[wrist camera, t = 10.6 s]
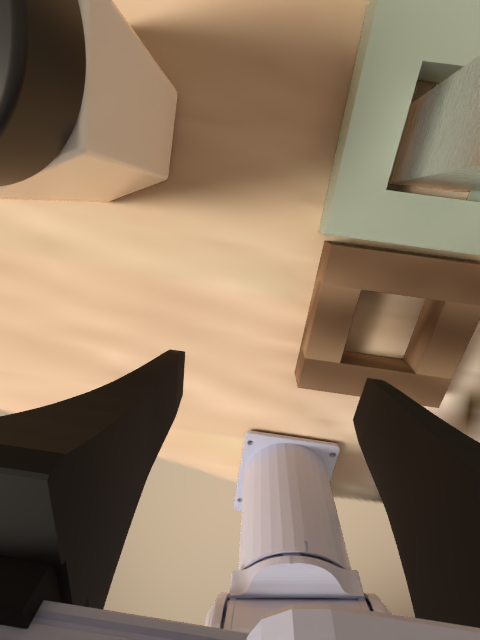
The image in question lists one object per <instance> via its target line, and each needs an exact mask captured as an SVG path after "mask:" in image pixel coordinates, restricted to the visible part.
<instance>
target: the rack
mask: <svg viewBox="0 0 480 640" xmlns="http://www.w3.org/2000/svg"><path fill="white" fill-rule="evenodd" d="M478 56H480V0H370V2H369V4H368V5H367V9H366V14H365V19H364V23H363V28H362V33H361V37H360V42H359V47H358V51H357V56H356V60H355V65H354V70H353V74H352V79H351V84H350V88H349V93H348V98H347V102H346V107H345V112H344V116H343V121H342V125H341V130H340V135H339V139H338V144H337V149H336V153H335V158H334V163H333V167H332V172H331V176H330V181H329V186H328V190H327V195H326V200H325V204H324V209H323V214H322V218H321V223H320V228H319V232H320V233H323V234H325V235H332V236H340V237H347V238H355V239H362V240H370V241H377V242H384V243H392V244H399V245H407V246H414V247H421V248H429V249H436V250H444V251H451V252H459V253H466V254H473V255H480V190H470V193H469V196H468V198H467V200H459V199H451V198H444V197H436V196H429V195H421V194H413V193H406V192H398V191H391V190H386V188H387V185H388V181H389V178H390V174H391V170H392V167H393V163H394V160H395V156H396V153H397V149H398V146H399V142H400V139H401V135H402V132H403V128H404V125H405V121H406V118H407V114H408V111H409V107H410V103H411V100H412V96H413V93H414V89H415V86H416V82H417V80H419V81H427V82H435V83H441V82H443V81H444V80H445V79H447V78H448V77H450V76H451V75H453V74H454V73H455V72H457V71H458V70H460V69H461V68H463V67H464V66H465V65H467V64H468V63H470V62H471V61H473V60H474V59H476V58H477V57H478Z"/></svg>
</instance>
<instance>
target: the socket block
mask: <svg viewBox="0 0 480 640" xmlns="http://www.w3.org/2000/svg"><path fill="white" fill-rule="evenodd" d="M361 290H368V291H375V292H383V293H390V294H397V295H404V296H412V297H419V298H426V300H425V303H424V305H423V308H422V311H421V313H420V316H419V318H418V321H417V324H416V326H415V329H414V332H413V334H412V337H411V340H410V342H409V345H408V348H407V350H406V353H405V355H404V358H403V360H402V359H395V358H388V357H381V356H374V355H367V354H360V353H353V352H346V351H344V347H345V344H346V340H347V337H348V333H349V330H350V326H351V323H352V319H353V316H354V312H355V309H356V306H357V302H358V299H359V295H360V292H361ZM479 320H480V262H477V261H470V260H462V259H455V258H448V257H440V256H433V255H425V254H418V253H411V252H403V251H396V250H388V249H381V248H374V247H366V246H359V245H351V244H344V243H337V242H329V241H324V245H323V250H322V254H321V259H320V263H319V268H318V272H317V276H316V281H315V285H314V290H313V294H312V299H311V303H310V307H309V312H308V316H307V321H306V325H305V330H304V334H303V339H302V343H301V347H300V352H299V356H298V361H297V365H296V370H295V376H296V381H297V386H298V388H304V389H311V390H318V391H325V392H332V393H339V394H346V395H353V396H360V397H361V394H362V391H363V388H364V385H365V382H366V379H367V378H372V379H379V380H384V381H386V382H387V383H389V384H391V385H392V386H394V387H395V388H397V389H398V390H400V391H401V392H403V393H404V394H406V395H407V396H408V397H410V398H411V399H413V400H414V401H416V402H417V403H418V404H420V405H422V406H429V407H436V408H439V406H440V404H441V402H442V400H443V398H444V395H445V393H446V391H447V389H448V387H449V385H450V382H451V380H452V378H453V376H454V374H455V372H456V370H457V367H458V365H459V363H460V361H461V359H462V357H463V354H464V352H465V350H466V348H467V346H468V344H469V341H470V339H471V337H472V335H473V333H474V331H475V328H476V326H477V324H478V322H479Z"/></svg>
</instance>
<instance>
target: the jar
mask: <svg viewBox="0 0 480 640" xmlns="http://www.w3.org/2000/svg"><path fill="white" fill-rule="evenodd" d="M177 96H178V94H177V91H176V89H175V88H174V86H173V85H172V83H171V82H170V81H169V79H168V78H167V76H166V75H165V74H164V72H163V71H162V69H161V68H160V67H159V65H158V64H157V62H156V61H155V60H154V58H153V57H152V55H151V54H150V53H149V51H148V50H147V48H146V47H145V45H144V44H143V43H142V41H141V40H140V38H139V37H138V36H137V34H136V33H135V31H134V30H133V29H132V27H131V26H130V24H129V23H128V22H127V20H126V19H125V17H124V16H123V15H122V13H121V12H120V10H119V9H118V8H117V6H116V5H115V3H114V2H113V1H112V0H0V199H16V200H44V201H72V202H100V203H106V202H109V201H112V200H114V199H117V198H119V197H122V196H125V195H127V194H130V193H133V192H135V191H138V190H141V189H143V188H146V187H149V186H151V185H154V184H157V183H159V182H162V181H165V180H167V179H168V176H169V167H170V159H171V150H172V141H173V132H174V123H175V114H176V105H177Z"/></svg>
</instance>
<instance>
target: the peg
mask: <svg viewBox="0 0 480 640" xmlns="http://www.w3.org/2000/svg"><path fill="white" fill-rule="evenodd" d="M389 184H398V185H406V186H414V187H422V188H430V189H438V190H446V191H455V192H457V191H469V190H480V56H478V57H477V58H476V59H474V60H473V61H471V62H470V63H468V64H467V65H465V66H464V67H463V68H461V69H460V70H458V71H457V72H455V73H454V74H453V75H451V76H450V77H448V78H447V79H445V80H444V81H443V82H441V83H440V84H438V85H437V86H435V87H434V88H432V89H431V90H430V91H428V92H427V93H425V94H424V95H422V96H421V97H420V98H418V99H417V100H415V101H414V102H412V103H411V104H410V108H409V112H408V115H407V119H406V122H405V126H404V130H403V133H402V137H401V140H400V144H399V148H398V151H397V155H396V159H395V162H394V166H393V169H392V173H391V177H390V180H389Z"/></svg>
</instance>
